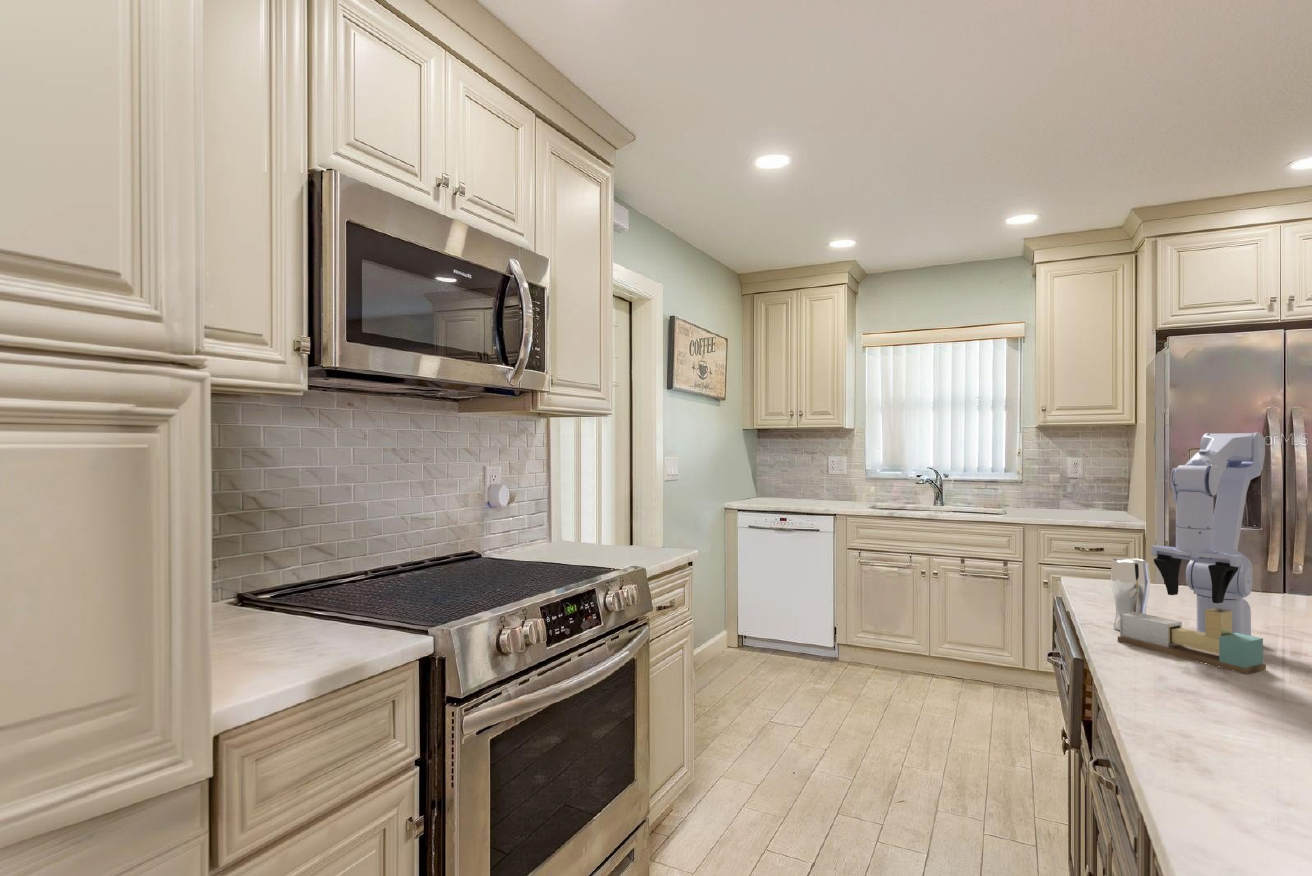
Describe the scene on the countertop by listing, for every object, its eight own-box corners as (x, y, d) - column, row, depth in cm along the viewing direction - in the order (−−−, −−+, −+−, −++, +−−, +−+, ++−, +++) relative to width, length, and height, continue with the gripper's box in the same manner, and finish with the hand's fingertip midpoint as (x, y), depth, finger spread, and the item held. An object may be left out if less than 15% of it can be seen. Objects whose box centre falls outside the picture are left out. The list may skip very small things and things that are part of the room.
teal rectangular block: (1236, 657, 126) (1236, 632, 126) (1263, 663, 122) (1262, 638, 122) (1219, 661, 124) (1218, 636, 124) (1245, 668, 120) (1245, 642, 120)
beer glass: (1157, 635, 144) (1156, 563, 144) (1120, 633, 145) (1119, 562, 145) (1140, 626, 151) (1140, 558, 151) (1105, 625, 152) (1105, 557, 152)
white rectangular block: (1133, 633, 142) (1133, 611, 142) (1181, 645, 134) (1181, 621, 134) (1120, 636, 140) (1119, 613, 140) (1168, 648, 132) (1168, 624, 132)
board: (1135, 637, 142) (1135, 632, 142) (1265, 669, 122) (1265, 663, 122) (1117, 641, 140) (1117, 636, 140) (1247, 674, 120) (1247, 668, 120)
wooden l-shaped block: (1166, 636, 136) (1166, 598, 136) (1246, 655, 124) (1246, 613, 124) (1155, 639, 134) (1155, 600, 134) (1235, 658, 122) (1235, 615, 122)
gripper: (1141, 524, 137) (1141, 592, 137) (1226, 532, 124) (1227, 608, 124) (1163, 523, 140) (1163, 590, 140) (1248, 531, 127) (1248, 605, 127)
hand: (1194, 598), depth 132 cm, fingers open, 7 cm apart
